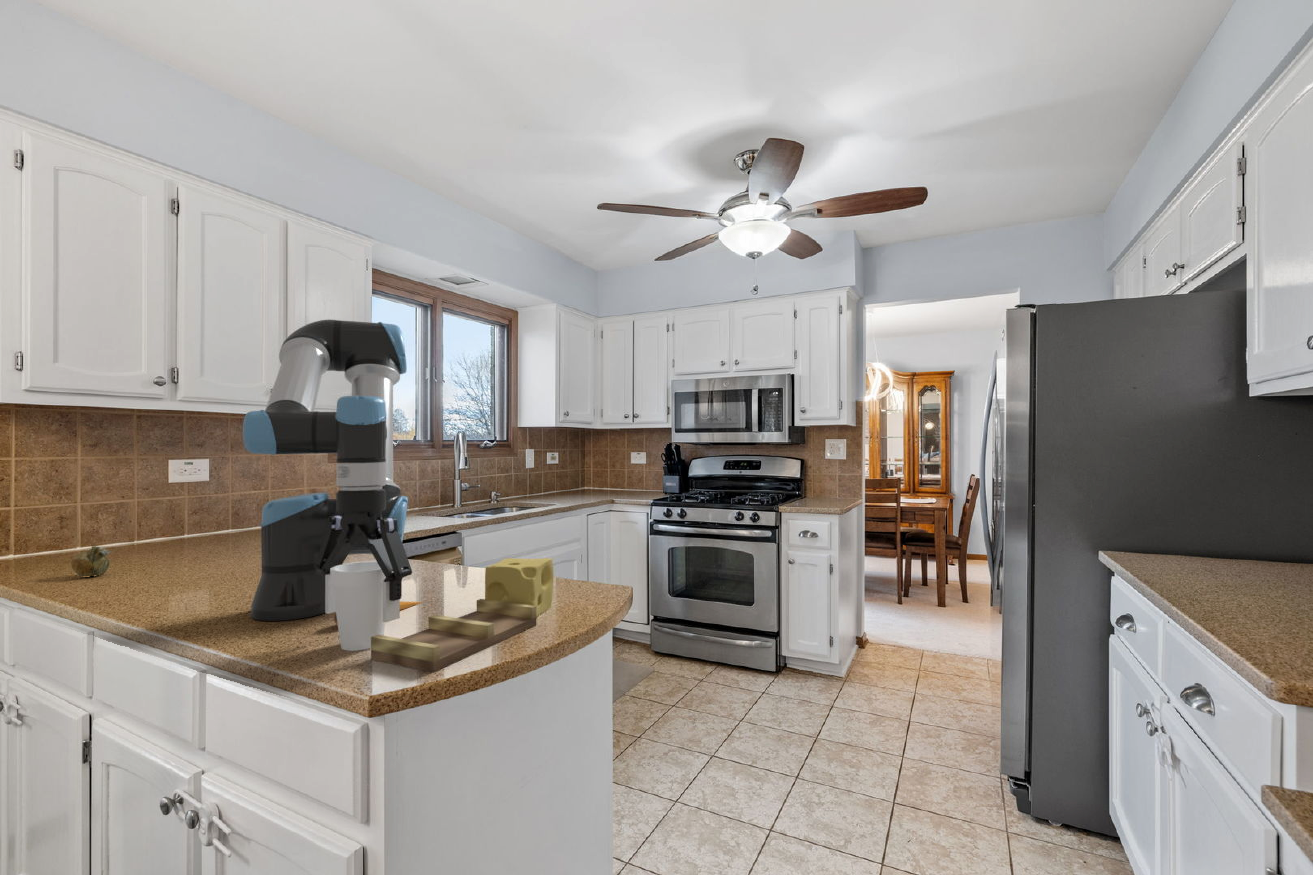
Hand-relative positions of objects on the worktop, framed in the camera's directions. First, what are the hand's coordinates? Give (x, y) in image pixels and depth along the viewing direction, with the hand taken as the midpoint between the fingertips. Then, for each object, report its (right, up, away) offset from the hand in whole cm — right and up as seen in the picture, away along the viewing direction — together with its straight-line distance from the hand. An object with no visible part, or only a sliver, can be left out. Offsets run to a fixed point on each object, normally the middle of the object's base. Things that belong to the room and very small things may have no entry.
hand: (361, 615), depth 101 cm
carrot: (-4, -5, +18) cm, 19 cm away
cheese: (+22, -5, +19) cm, 30 cm away
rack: (+16, -5, +2) cm, 17 cm away
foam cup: (0, -5, 0) cm, 5 cm away
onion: (-96, -6, +55) cm, 111 cm away
